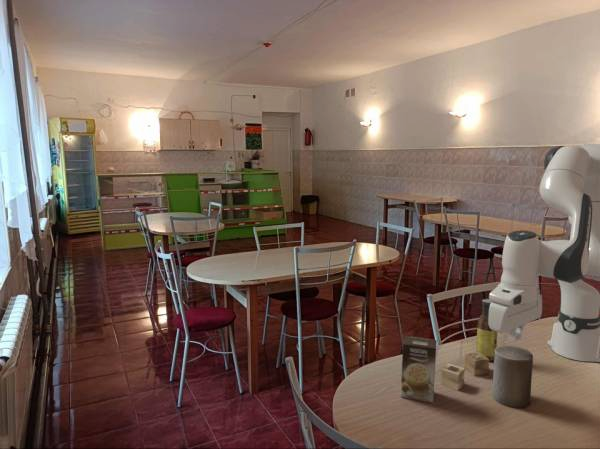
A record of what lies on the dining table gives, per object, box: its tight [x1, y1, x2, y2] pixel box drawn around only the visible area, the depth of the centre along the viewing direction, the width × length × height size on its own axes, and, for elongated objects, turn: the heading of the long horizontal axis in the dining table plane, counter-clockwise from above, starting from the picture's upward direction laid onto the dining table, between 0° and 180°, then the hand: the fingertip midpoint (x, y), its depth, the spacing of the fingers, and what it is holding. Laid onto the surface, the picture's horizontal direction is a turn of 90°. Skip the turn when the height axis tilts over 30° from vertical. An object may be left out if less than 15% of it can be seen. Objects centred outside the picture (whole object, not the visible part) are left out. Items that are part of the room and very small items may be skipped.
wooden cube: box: [464, 352, 490, 377], centre depth 138 cm, size 5×5×5 cm
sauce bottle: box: [475, 298, 498, 362], centre depth 146 cm, size 6×6×20 cm
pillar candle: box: [492, 344, 534, 409], centre depth 121 cm, size 10×10×15 cm
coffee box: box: [399, 334, 437, 403], centre depth 124 cm, size 9×6×16 cm
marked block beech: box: [440, 363, 466, 391], centre depth 130 cm, size 5×5×5 cm
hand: (514, 339), depth 120 cm, fingers closed
